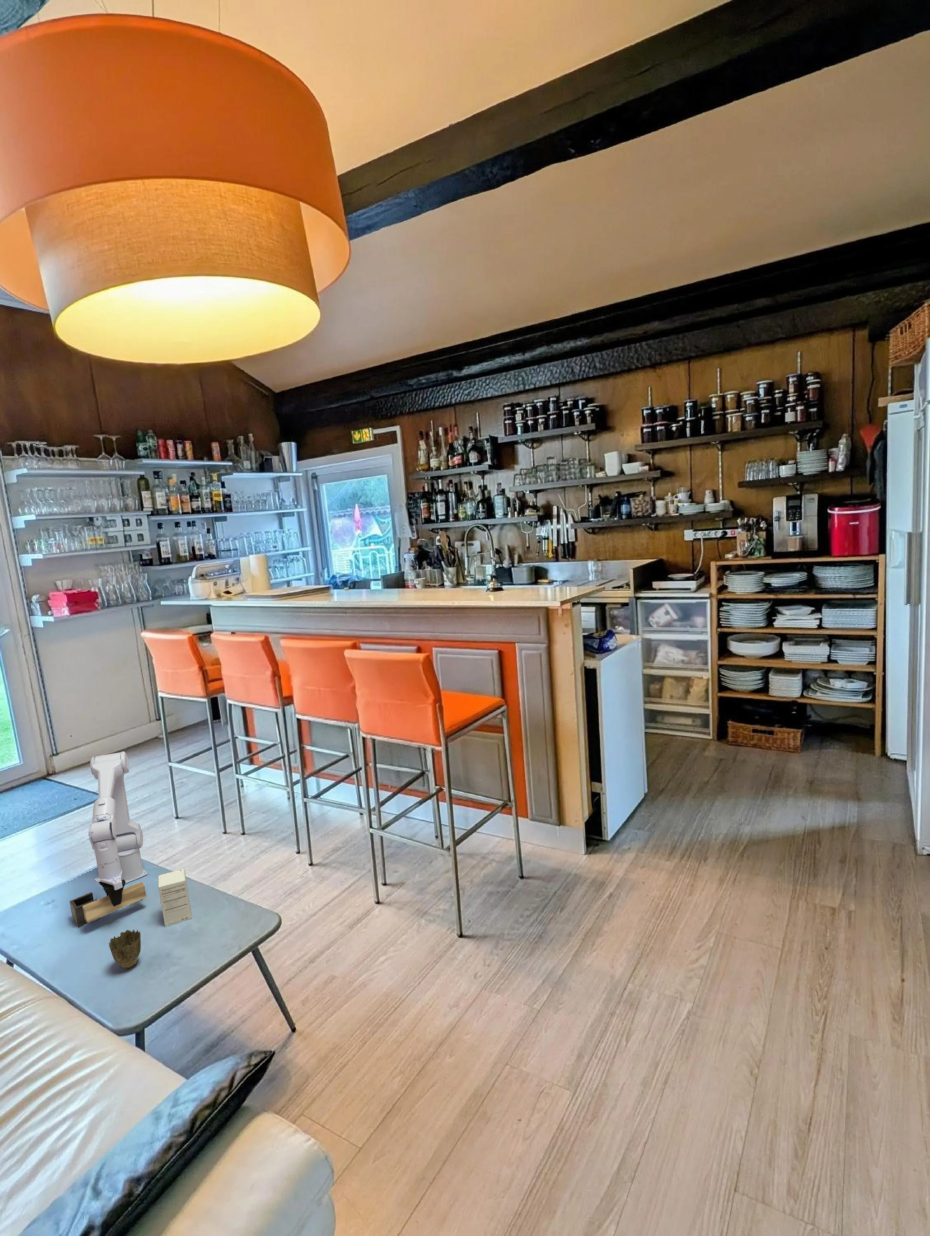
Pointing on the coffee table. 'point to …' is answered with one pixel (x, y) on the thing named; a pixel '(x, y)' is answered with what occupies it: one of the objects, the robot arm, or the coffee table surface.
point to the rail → (105, 905)
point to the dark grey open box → (80, 908)
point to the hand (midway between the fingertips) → (115, 902)
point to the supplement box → (174, 897)
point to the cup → (126, 948)
